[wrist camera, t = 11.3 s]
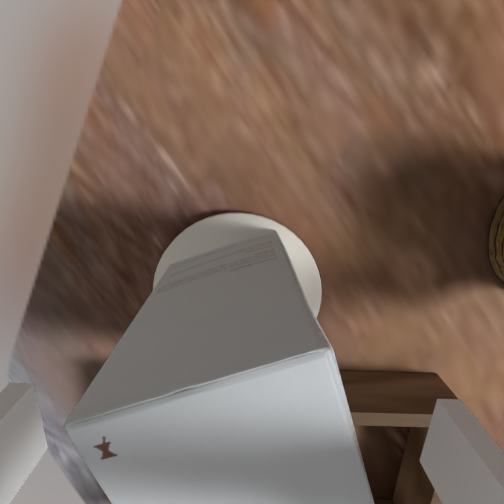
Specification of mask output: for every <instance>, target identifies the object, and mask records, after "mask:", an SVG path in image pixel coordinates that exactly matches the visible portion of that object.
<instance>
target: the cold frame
mask: <svg viewBox="0 0 504 504" xmlns="http://www.w3.org/2000/svg"><path fill="white" fill-rule="evenodd" d="M339 373H340V376H341V380H342V384H343V387H344V391H345V395H346V398H347V402H348V406H349V409H350V413H351V417H352V421H353V425H363V426H401V427H410V430H409V434H408V438H407V442H406V446H405V450H404V454H403V458H402V462H401V466H400V470H399V475H398V479H397V483H396V487H395V491H394V495H393V499H373V500H374V504H442V502H441V500H440V498H439V497H438V495H437V493H436V491H435V489H434V487H433V485H432V483H431V482H430V480H429V478H428V476H427V474H426V472H425V470H424V468H423V466H422V465H421V463H420V457H421V454H422V450H423V447H424V443H425V440H426V436H427V433H428V429H429V426H430V422H431V419H432V415H433V412H434V408H435V405H436V401H437V399H458V398H457V397H456V396H455V395H454V393H453V392H452V391H451V390H450V389H449V388H448V386H447V385H446V384H445V383H444V382H443V381H442V379H441V378H440V377H439V376H438V375H437V374H436V373H405V372H372V371H340V370H339Z"/></svg>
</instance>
